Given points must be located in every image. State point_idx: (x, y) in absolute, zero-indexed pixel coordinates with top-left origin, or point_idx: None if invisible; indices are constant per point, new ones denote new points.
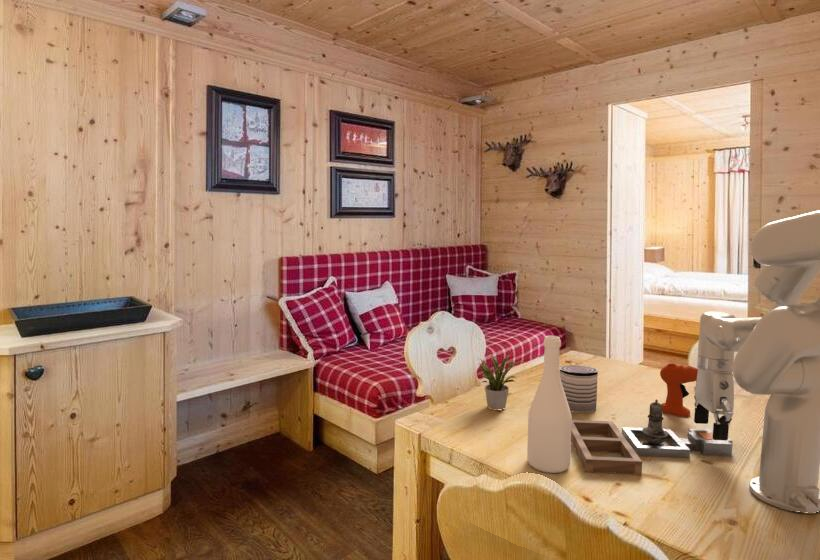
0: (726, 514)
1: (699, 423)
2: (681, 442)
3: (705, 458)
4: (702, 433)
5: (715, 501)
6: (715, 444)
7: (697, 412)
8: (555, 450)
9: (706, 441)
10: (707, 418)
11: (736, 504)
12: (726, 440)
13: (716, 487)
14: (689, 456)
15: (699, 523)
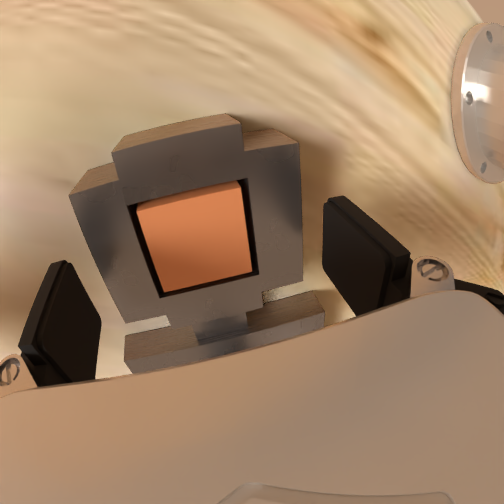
0: (501, 248)
1: (88, 301)
2: (260, 335)
3: (310, 243)
4: (169, 274)
5: (480, 257)
6: (300, 230)
7: (89, 375)
8: None
9: (282, 269)
10: (62, 288)
11: (493, 224)
12: (246, 161)
13: (453, 246)
14: (313, 295)
15: (497, 284)
